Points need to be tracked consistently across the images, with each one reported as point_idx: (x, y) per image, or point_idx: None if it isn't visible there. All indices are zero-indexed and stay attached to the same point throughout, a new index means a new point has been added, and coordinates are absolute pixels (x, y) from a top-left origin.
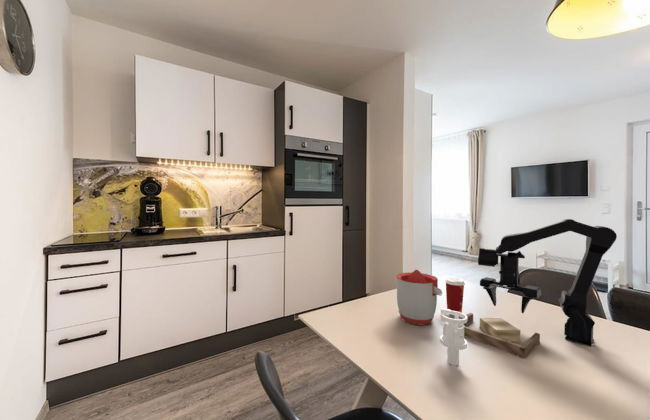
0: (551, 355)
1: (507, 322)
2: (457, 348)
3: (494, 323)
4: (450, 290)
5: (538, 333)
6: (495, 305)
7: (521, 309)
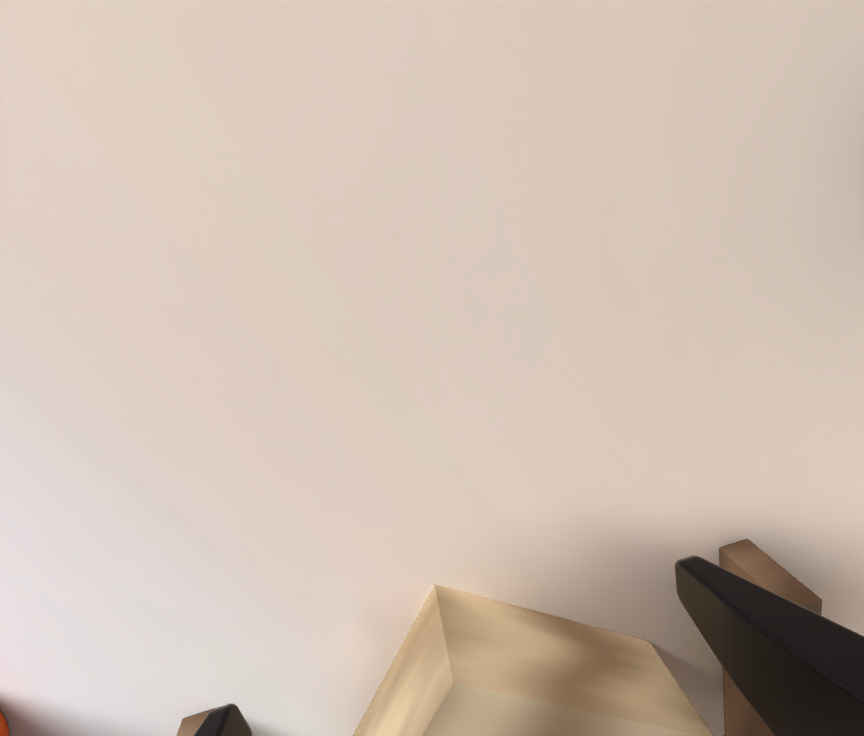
0: (839, 624)
1: (560, 711)
2: None
3: None
4: None
5: (811, 603)
6: (243, 725)
7: (742, 689)
